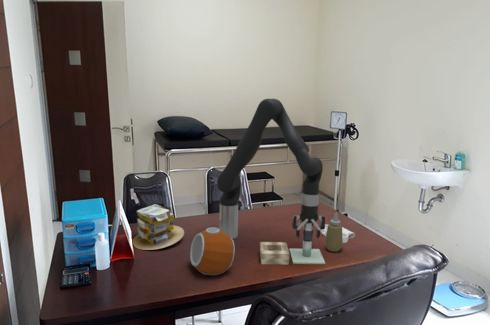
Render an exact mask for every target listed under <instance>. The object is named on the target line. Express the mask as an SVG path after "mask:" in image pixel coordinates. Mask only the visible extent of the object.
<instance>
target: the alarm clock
mask: <svg viewBox="0 0 490 325" xmlns="http://www.w3.org/2000/svg"><path fill="white" fill-rule="evenodd" d="M235 248H236V247H235V242H234V239H232V238H230V236H229V235H228V234H227V233H225V232H223V231H221V230H219V227H215V226H213V227H207V228H206V229H204V230H202V231H201V232H198V233H196V234H195V236H194V237H193V240H192V242H191V245H190V250H189V251H190V253H189V256H190V264H191V265H192V266H193V267H194V268H195V269H196V270H197V271H198V272H200V273H201V274H203V275H207V276H208V275H209V276H218V275H219V276H220V275H221V274H224V273H225V272H226V271H228V270H229V269H230V268H231V267H232V264H233V262H234V257H235Z"/></svg>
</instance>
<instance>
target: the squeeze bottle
mask: <svg viewBox="0 0 490 325" xmlns="http://www.w3.org/2000/svg"><path fill="white" fill-rule="evenodd" d="M327 225H328V228H327V234H326V236H325V240H324V243H325V246H326V249H327V250H328V251H329V252H332V253H333V252H335V253H337V252H340V250H341V248H342V246H343V244H344V243H343V240H342V227H343V226H342V224H341V220H339V216H338V213H337V212H334V215H333V218H331V219H330V223H328V224H327Z"/></svg>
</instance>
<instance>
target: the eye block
mask: <svg viewBox="0 0 490 325" xmlns="http://www.w3.org/2000/svg"><path fill="white" fill-rule="evenodd" d="M259 256H260V264H261V265H286V266H287V265H290V250H289V247H288V244H287V242H284V241H279V242H278V241H277V242H276V241H260V242H259Z"/></svg>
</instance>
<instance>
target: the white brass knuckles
mask: <svg viewBox="0 0 490 325" xmlns="http://www.w3.org/2000/svg"><path fill="white" fill-rule="evenodd" d="M328 225H329V224H325V229H322V230H320V233H321V234H322V235H323V236H324V237H326V234H327V228H328ZM355 236H356V234H355V232H353V231H350V230H349V229H347V228H345V227H343V226H342V240H343V244H345V243H348V242H349V239H354V238H355Z"/></svg>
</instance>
